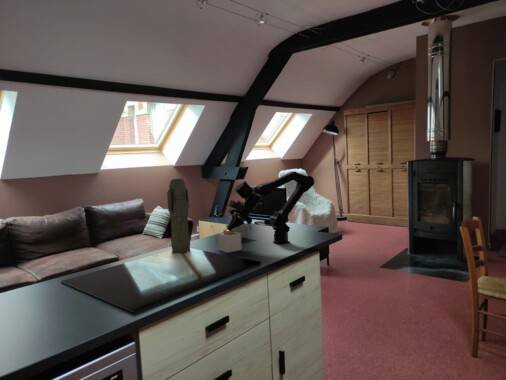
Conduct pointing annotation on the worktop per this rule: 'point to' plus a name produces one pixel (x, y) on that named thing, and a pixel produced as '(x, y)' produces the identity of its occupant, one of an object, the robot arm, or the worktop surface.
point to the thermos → (179, 215)
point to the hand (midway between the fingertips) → (228, 229)
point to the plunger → (228, 231)
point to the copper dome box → (229, 242)
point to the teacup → (242, 229)
